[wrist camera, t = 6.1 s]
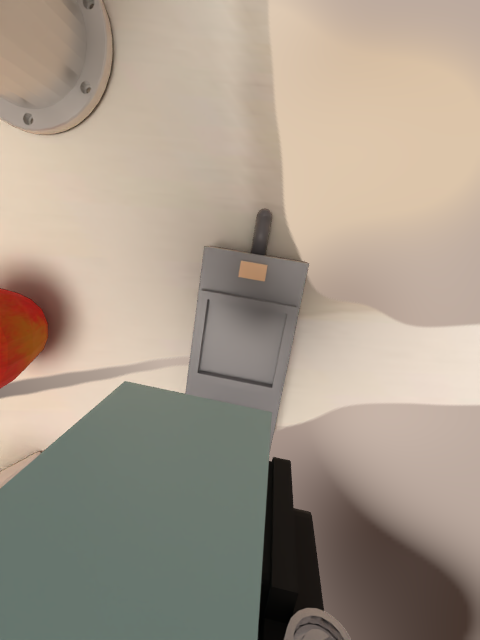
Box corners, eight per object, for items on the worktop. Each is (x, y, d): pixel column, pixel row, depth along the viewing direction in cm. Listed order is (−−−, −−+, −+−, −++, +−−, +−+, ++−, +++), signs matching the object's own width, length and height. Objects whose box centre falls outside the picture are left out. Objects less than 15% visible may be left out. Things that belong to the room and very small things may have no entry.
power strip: (218, 202, 26) (193, 183, 19) (314, 217, 26) (330, 204, 18) (183, 461, 32) (153, 528, 24) (261, 478, 32) (255, 553, 24)
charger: (125, 380, 11) (-148, 614, 4) (282, 414, 10) (283, 744, 3) (115, 502, 12) (-103, 840, 5) (256, 537, 11) (218, 959, 5)
